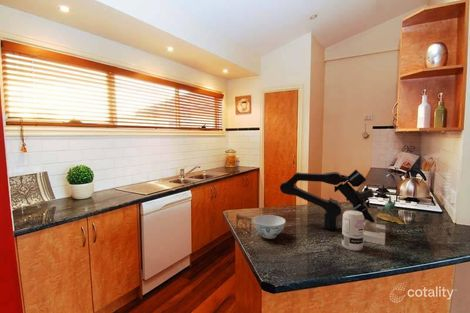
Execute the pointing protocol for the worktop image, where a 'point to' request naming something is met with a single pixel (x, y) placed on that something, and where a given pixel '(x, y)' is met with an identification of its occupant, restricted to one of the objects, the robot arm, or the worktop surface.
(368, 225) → the block
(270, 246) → the worktop surface
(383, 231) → the white flat frame
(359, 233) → the supplement can
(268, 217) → the chinaware
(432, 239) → the worktop surface
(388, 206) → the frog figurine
